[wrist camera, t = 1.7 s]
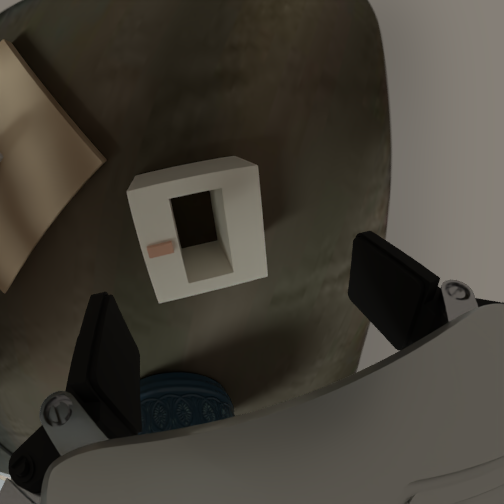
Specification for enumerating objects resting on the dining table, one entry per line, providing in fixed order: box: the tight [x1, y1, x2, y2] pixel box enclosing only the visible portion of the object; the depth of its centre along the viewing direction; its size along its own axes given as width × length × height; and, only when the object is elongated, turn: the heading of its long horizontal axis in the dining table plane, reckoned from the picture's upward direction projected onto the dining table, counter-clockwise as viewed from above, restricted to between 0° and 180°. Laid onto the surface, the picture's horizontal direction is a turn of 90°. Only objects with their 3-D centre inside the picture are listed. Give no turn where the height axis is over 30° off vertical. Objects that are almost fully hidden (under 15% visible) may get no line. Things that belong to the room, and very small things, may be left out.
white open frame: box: [127, 156, 268, 303], centre depth 17 cm, size 7×7×5 cm
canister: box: [138, 372, 235, 435], centre depth 20 cm, size 13×13×18 cm
